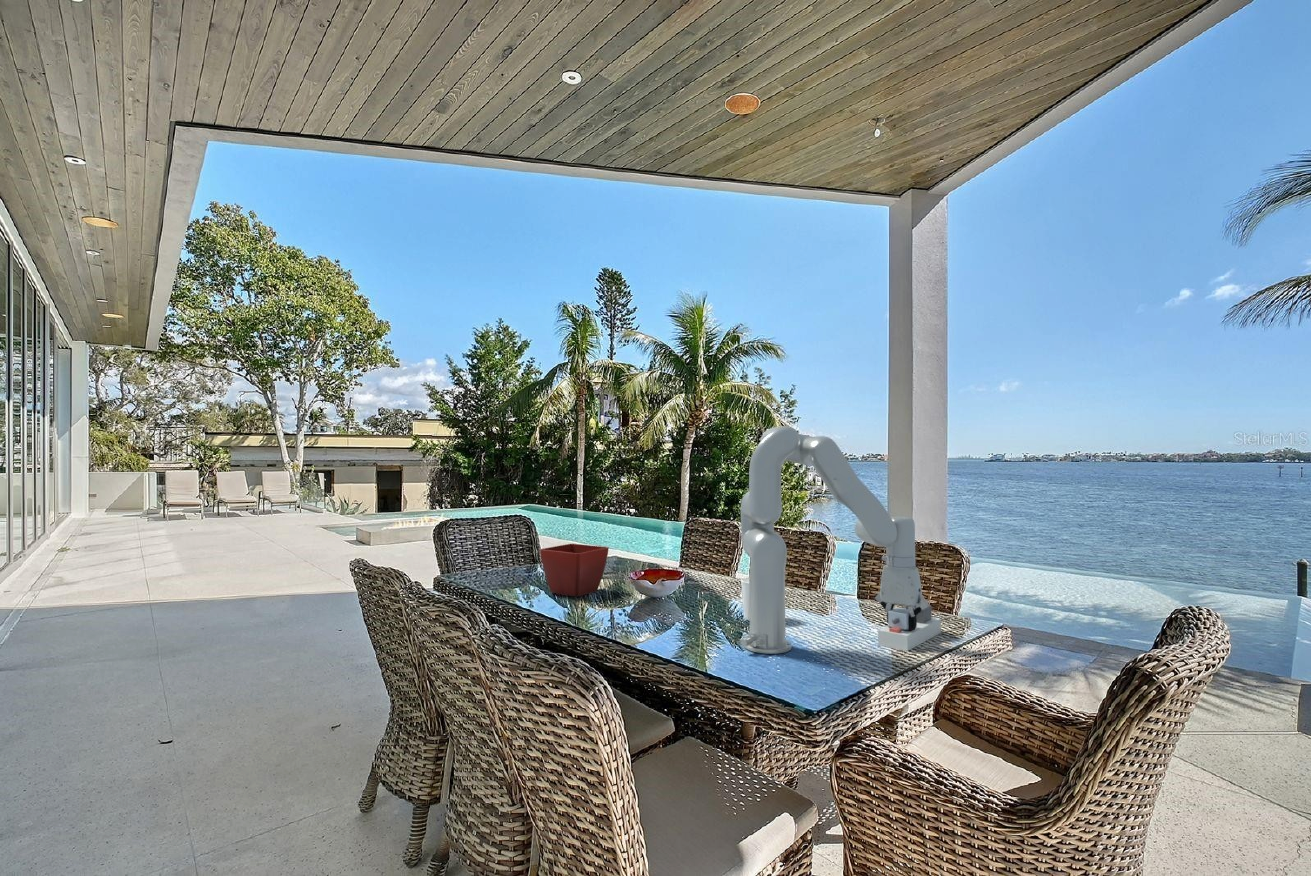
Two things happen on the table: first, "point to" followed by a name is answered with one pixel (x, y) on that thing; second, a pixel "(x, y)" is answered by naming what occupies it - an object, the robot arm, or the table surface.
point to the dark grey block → (923, 614)
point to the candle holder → (746, 598)
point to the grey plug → (899, 619)
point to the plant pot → (574, 568)
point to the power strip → (909, 635)
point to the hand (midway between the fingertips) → (901, 627)
